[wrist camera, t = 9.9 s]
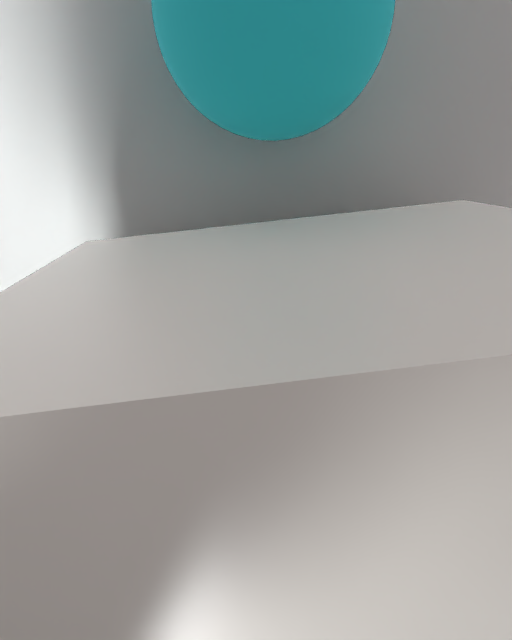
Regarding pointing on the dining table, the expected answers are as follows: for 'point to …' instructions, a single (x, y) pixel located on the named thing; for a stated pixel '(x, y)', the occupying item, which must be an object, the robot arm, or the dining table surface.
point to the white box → (263, 432)
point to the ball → (272, 59)
